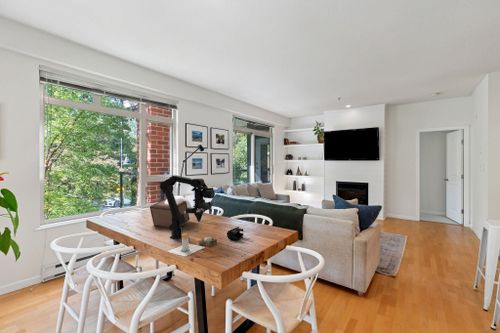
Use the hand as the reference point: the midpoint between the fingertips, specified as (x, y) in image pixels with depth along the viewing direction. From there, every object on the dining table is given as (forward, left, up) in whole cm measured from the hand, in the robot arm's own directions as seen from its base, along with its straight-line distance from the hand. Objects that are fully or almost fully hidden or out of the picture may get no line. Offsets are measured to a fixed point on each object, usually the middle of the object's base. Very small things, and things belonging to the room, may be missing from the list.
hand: (199, 221), depth 155 cm
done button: (+10, -3, -12) cm, 16 cm away
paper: (+6, -17, -12) cm, 22 cm away
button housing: (+10, -3, -12) cm, 16 cm away
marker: (+7, -19, -12) cm, 23 cm away
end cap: (+19, +14, -12) cm, 27 cm away
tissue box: (-45, +19, -12) cm, 51 cm away
